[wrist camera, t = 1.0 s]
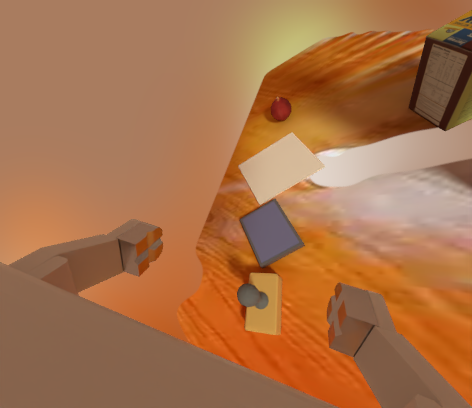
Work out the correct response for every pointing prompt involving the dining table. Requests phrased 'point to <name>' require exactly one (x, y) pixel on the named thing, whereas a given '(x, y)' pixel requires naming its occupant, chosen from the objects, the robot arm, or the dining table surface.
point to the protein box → (445, 75)
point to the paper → (279, 167)
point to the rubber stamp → (262, 303)
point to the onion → (280, 108)
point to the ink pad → (270, 233)
